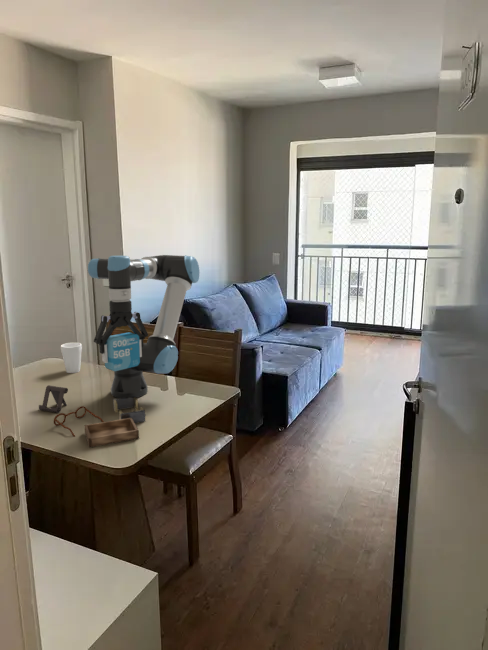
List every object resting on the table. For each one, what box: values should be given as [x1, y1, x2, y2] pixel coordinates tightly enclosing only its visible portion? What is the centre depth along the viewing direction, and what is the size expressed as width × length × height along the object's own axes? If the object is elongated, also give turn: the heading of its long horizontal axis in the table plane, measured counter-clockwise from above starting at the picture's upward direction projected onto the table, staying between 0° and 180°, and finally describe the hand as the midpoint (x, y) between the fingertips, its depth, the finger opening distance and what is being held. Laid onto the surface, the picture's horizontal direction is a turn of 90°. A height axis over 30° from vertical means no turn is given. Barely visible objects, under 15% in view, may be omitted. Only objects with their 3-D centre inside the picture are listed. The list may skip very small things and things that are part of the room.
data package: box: [104, 332, 140, 372], centre depth 173 cm, size 12×4×12 cm, turn 138°
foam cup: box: [60, 342, 83, 374], centre depth 232 cm, size 10×9×13 cm
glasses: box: [53, 405, 105, 437], centre depth 172 cm, size 13×13×5 cm
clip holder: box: [112, 396, 146, 424], centre depth 182 cm, size 9×16×4 cm, turn 24°
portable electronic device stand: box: [38, 385, 69, 414], centre depth 187 cm, size 9×8×8 cm
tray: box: [84, 418, 140, 449], centre depth 164 cm, size 16×12×3 cm
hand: (122, 359), depth 174 cm, fingers closed on data package, 12 cm apart
